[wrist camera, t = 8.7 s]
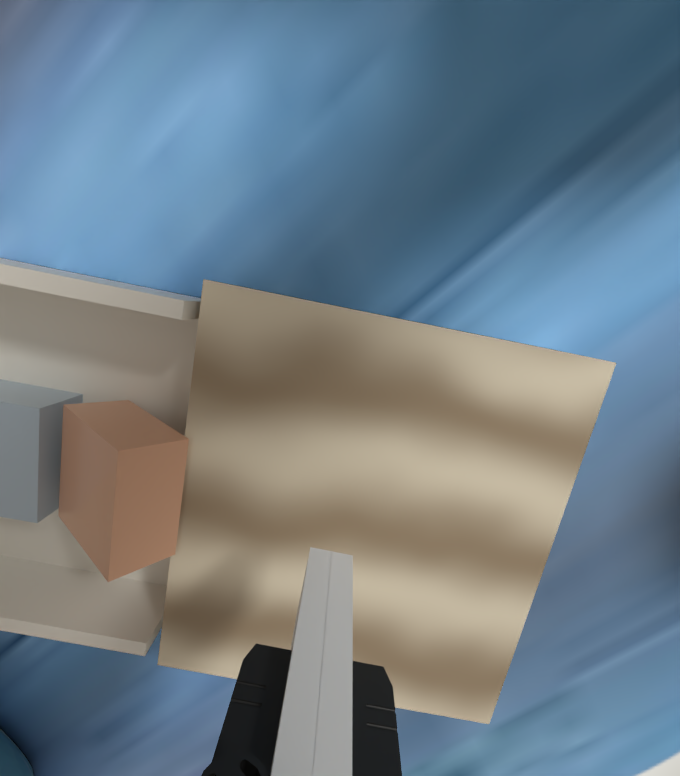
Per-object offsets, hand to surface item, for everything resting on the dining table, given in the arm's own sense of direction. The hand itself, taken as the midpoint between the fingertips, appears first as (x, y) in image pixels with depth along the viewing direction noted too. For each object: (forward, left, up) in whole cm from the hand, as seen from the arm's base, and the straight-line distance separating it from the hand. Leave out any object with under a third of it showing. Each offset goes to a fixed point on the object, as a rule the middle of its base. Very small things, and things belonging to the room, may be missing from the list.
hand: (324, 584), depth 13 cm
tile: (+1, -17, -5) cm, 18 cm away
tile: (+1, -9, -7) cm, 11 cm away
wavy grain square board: (+1, +2, -9) cm, 9 cm away
